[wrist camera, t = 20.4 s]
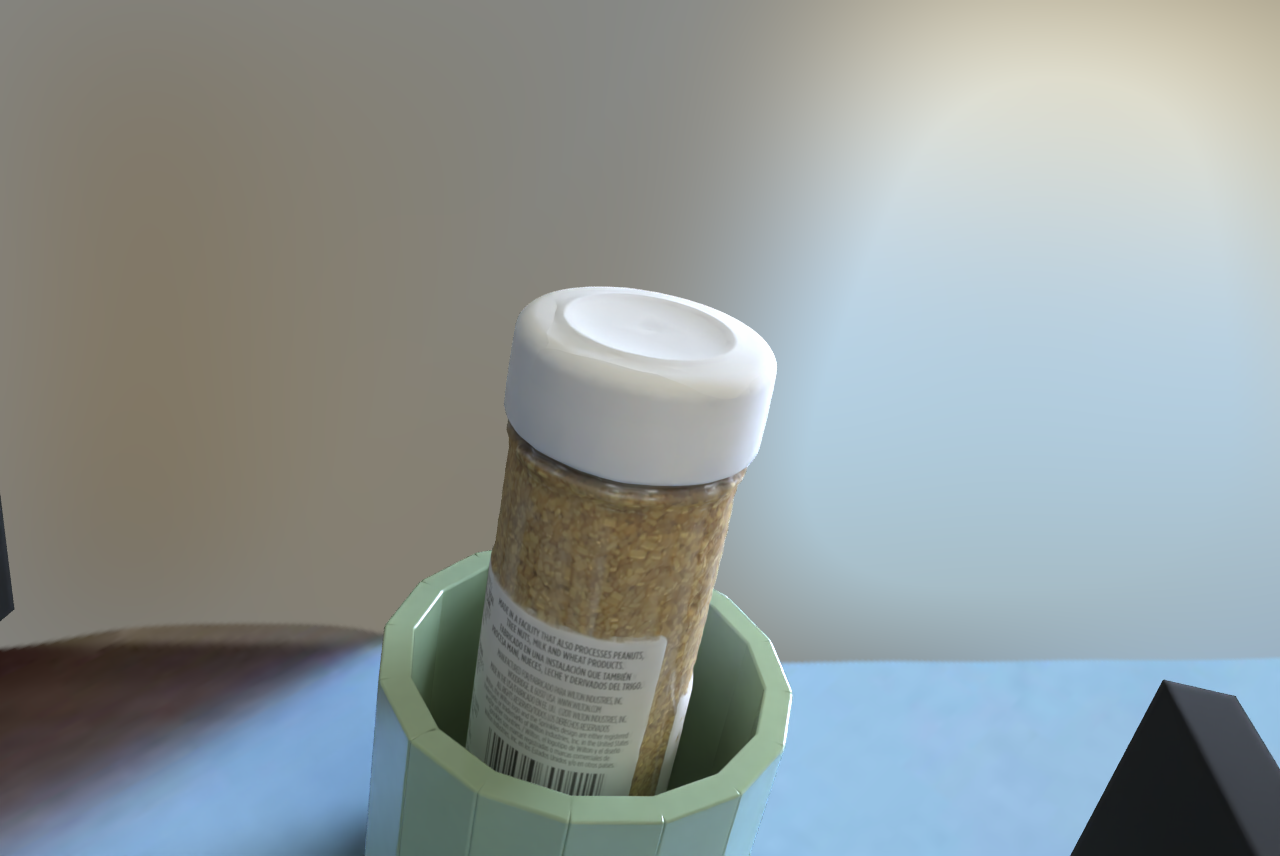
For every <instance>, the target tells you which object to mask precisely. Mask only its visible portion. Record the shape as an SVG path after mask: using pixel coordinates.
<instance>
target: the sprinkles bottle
mask: <svg viewBox="0 0 1280 856" xmlns="http://www.w3.org/2000/svg"><path fill="white" fill-rule="evenodd" d="M776 366H777V363H776V360H775V357H774V354H773V352H772V350H771V349H770V347H769V345H768V344H767V343H766V342H765V340H764V339H763V338H762V337H760V336H759V335H758V334H757V333H756V332H755V331H754V330H752V329H751V328H749V327H748V326H746V325H745V324H744V323H741V322H740V321H738V320H737V319H735V318H733V317H731V316H729V315H727V314H725V313H723V312H720V311H718V310H715V309H713V308H710V307H708V306H705V305H702V304H699V303H696V302H693V301H690V300H687V299H683V298H679V297H675V296H670V295H666V294H662V293H657V292H651V291H645V290H639V289H632V288H621V287H578V288H570V289H564V290H560V291H555V292H551V293H548V294H545V295H543V296H541V297H539V298H537V299H535V300H533V301H532V302H531V303H529V304H528V305H527V306H526V307H525V308H524V309H523V310H522V311H521V312H520V314H519V316H518V319H517V322H516V326H515V331H514V337H513V343H512V349H511V355H510V362H509V368H508V376H507V383H506V391H505V401H504V405H505V411H506V415H507V417H508V424H507V433H508V436H509V451H508V457H507V462H506V468H505V479H504V484H503V491H502V500H501V508H500V514H499V519H498V527H497V534H496V541H495V544H494V546H493V548H492V552H491V557H490V563H489V571H488V578H487V586H486V593H485V601H484V609H483V617H482V625H481V633H480V641H479V649H478V656H477V664H476V672H475V679H474V687H473V695H472V702H471V710H470V718H469V726H468V733H467V741H466V748H465V749H467V750H468V751H469V752H471V753H472V754H473V755H475V756H476V757H477V758H479V759H480V760H481V761H483V762H484V763H485V764H487V765H488V766H489V767H491V768H492V769H493V770H495V771H497V772H500V773H503V774H506V775H509V776H512V777H515V778H518V779H521V780H524V781H527V782H531V783H534V784H537V785H540V786H543V787H546V788H549V789H552V790H555V791H558V792H561V793H564V794H567V795H571V796H655V795H658V794H661V793H664V792H666V790H667V787H668V783H669V780H670V776H671V772H672V768H673V764H674V760H675V756H676V753H677V749H678V745H679V741H680V737H681V733H682V729H683V723H684V719H685V715H686V711H687V707H688V703H689V699H690V695H691V691H692V685H693V666H694V664H695V662H696V659H697V653H698V649H699V645H700V643H701V638H702V635H703V629H704V625H705V622H706V619H707V614H708V609H709V604H710V601H711V598H712V593H713V587H714V584H715V582H716V577H717V574H718V569H719V564H720V560H721V557H722V554H723V550H724V542H725V537H726V535H727V531H728V526H729V520H730V517H731V513H732V507H733V498H734V496H735V493H736V491H737V486H738V484H739V483H740V482H741V481H742V479H743V477H744V475H745V473H746V470H747V466H748V465H749V464H750V463H751V462H752V461H753V460H754V458H755V457H756V455H757V453H758V451H759V447H760V443H761V439H762V436H763V432H764V428H765V424H766V420H767V415H768V411H769V406H770V401H771V397H772V393H773V388H774V382H775V377H776V372H777V367H776Z"/></svg>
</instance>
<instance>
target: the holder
mask: <svg viewBox="0 0 1280 856" xmlns="http://www.w3.org/2000/svg"><path fill="white" fill-rule="evenodd" d="M491 552H492V550H489V551H484V552H478V553H475V554H473V555H470V556H468V557H466V558H464V559H462V560H460V561H459V562H457V563H455V564H453V565H451V566H449V567H447V568H445V569H443V570H441V571H439V572H437V573H435V574H433V575H431V576H429V577H427V578H425V579H424V580H422V581H421V582H419V583H418V585H417V586H416V587H415V588H414V590H413V591H412V592H411V593H410V595H409V596H408V597H407V599H406V600H405V601H404V602H403V603H402V605H401V606H400V607H399V608H398V610H397V611H396V612H395V613H394V614H393V616H392V617H391V618H390V619H389V621H388V622H387V623H386V625H385V627H384V635H383V644H382V653H381V662H380V671H379V680H378V693H377V705H376V718H375V730H374V743H373V755H372V768H371V780H370V793H369V805H368V818H367V830H366V843H365V855H364V856H750V854H751V851H752V848H753V845H754V842H755V839H756V835H757V832H758V829H759V826H760V823H761V820H762V817H763V814H764V811H765V808H766V805H767V802H768V798H769V795H770V792H771V789H772V786H773V783H774V780H775V777H776V774H777V771H778V768H779V765H780V761H781V758H782V755H783V752H784V749H785V745H786V738H787V731H788V725H789V718H790V711H791V705H792V698H793V696H792V690H791V688H790V686H789V683H788V681H787V678H786V676H785V673H784V671H783V668H782V666H781V664H780V661H779V659H778V656H777V654H776V651H775V649H774V647H773V644H772V642H770V639H769V638H768V637H767V636H766V635H765V634H764V633H763V632H762V631H761V630H760V629H759V628H758V627H757V626H756V625H755V624H754V623H753V622H752V621H751V620H750V619H749V618H748V617H747V616H746V615H745V614H744V613H743V612H742V611H741V610H740V609H739V608H738V607H737V606H736V605H735V604H734V603H733V602H732V601H731V600H730V599H729V598H727V596H725V595H724V594H722V593H720V592H718V591H716V590H714V589H713V593H712V598H711V601H710V604H709V609H708V614H707V619H706V622H705V625H704V629H703V635H702V638H701V643H700V645H699V649H698V653H697V659H696V662H695V664H694V666H693V685H692V691H691V695H690V699H689V703H688V707H687V711H686V715H685V719H684V723H683V729H682V733H681V737H680V741H679V745H678V749H677V753H676V756H675V760H674V764H673V768H672V772H671V776H670V780H669V783H668V787H667V790H666V792H664V793H661V794H658V795H655V796H571V795H567V794H564V793H561V792H558V791H555V790H552V789H549V788H546V787H543V786H540V785H537V784H534V783H531V782H527V781H524V780H521V779H518V778H515V777H512V776H509V775H506V774H503V773H500V772H497V771H495V770H493V769H492V768H491V767H489V766H488V765H487V764H485V763H484V762H483V761H481V760H480V759H479V758H477V757H476V756H475V755H473V754H472V753H471V752H469V751H468V750H467V749H465V748H466V741H467V733H468V726H469V718H470V710H471V702H472V695H473V687H474V679H475V672H476V664H477V656H478V649H479V641H480V633H481V625H482V617H483V609H484V601H485V593H486V586H487V578H488V571H489V563H490V557H491Z"/></svg>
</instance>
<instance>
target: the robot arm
mask: <svg viewBox="0 0 1280 856" xmlns="http://www.w3.org/2000/svg"><path fill="white" fill-rule="evenodd" d="M13 610H14V603H13V594H12V586H11V578H10V570H9V562H8V554H7V546H6V538H5V529H4V521H3V513H2V506H1V497H0V621H1V620H2V619H3V618H5V617H6V616H7V615H8V614H9V613H10V612H11V611H13ZM1070 856H1280V769H1279V767H1278V765H1277V764H1276V762H1275V760H1274V759H1273V757H1272V755H1271V754H1270V752H1269V750H1268V749H1267V747H1266V745H1265V744H1264V742H1263V741H1262V739H1261V737H1260V736H1259V734H1258V732H1257V731H1256V729H1255V727H1254V726H1253V724H1252V722H1251V721H1250V719H1249V717H1248V716H1247V714H1246V713H1245V711H1244V709H1243V708H1242V706H1241V704H1240V703H1239V701H1238V699H1237V698H1236V696H1233V695H1228V694H1224V693H1219V692H1215V691H1211V690H1206V689H1202V688H1198V687H1193V686H1189V685H1184V684H1180V683H1176V682H1171V681H1167V680H1163V681H1162V683H1161V685H1160V687H1159V689H1158V690H1157V692H1156V694H1155V696H1154V698H1153V700H1152V702H1151V704H1150V706H1149V708H1148V709H1147V711H1146V713H1145V715H1144V717H1143V719H1142V721H1141V723H1140V725H1139V726H1138V728H1137V730H1136V732H1135V734H1134V736H1133V738H1132V740H1131V742H1130V744H1129V745H1128V747H1127V749H1126V751H1125V753H1124V755H1123V757H1122V759H1121V761H1120V762H1119V764H1118V766H1117V768H1116V770H1115V772H1114V774H1113V776H1112V778H1111V780H1110V781H1109V783H1108V785H1107V787H1106V789H1105V791H1104V793H1103V795H1102V797H1101V798H1100V800H1099V802H1098V804H1097V806H1096V808H1095V810H1094V812H1093V814H1092V816H1091V817H1090V819H1089V821H1088V823H1087V825H1086V827H1085V829H1084V831H1083V833H1082V835H1081V836H1080V838H1079V840H1078V842H1077V844H1076V846H1075V848H1074V850H1073V852H1072V853H1071V855H1070Z"/></svg>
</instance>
